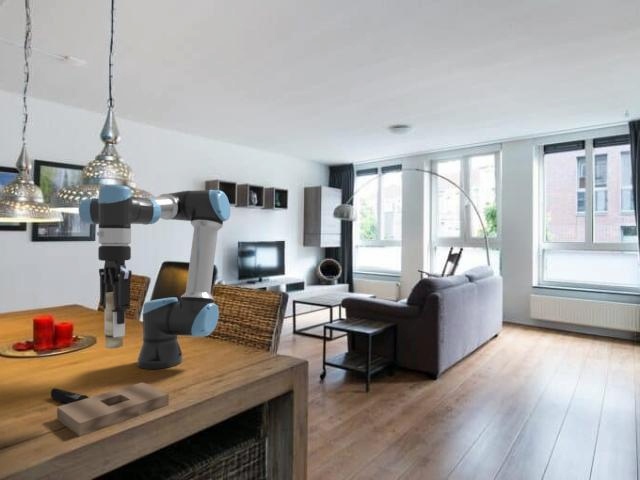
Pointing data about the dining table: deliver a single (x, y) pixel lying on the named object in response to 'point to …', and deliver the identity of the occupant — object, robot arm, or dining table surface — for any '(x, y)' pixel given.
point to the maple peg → (111, 324)
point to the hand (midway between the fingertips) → (114, 334)
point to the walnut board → (111, 408)
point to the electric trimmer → (66, 396)
